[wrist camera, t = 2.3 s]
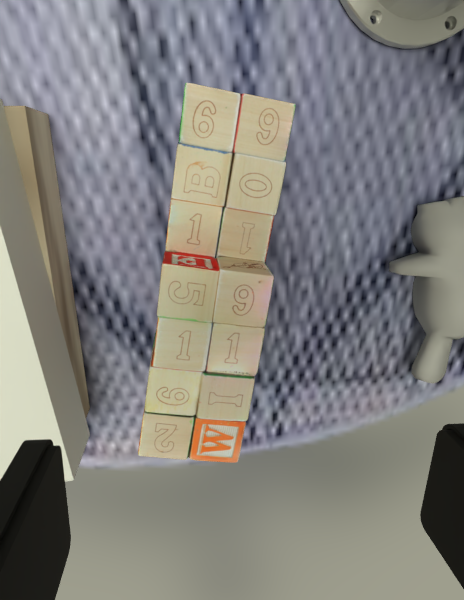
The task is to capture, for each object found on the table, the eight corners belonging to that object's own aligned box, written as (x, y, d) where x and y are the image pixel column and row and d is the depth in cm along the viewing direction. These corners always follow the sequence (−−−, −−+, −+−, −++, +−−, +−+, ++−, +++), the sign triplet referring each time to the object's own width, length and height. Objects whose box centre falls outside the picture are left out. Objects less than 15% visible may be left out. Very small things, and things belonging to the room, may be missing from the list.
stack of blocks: (185, 103, 31) (185, 65, 19) (268, 120, 31) (317, 93, 20) (151, 366, 37) (135, 459, 25) (222, 373, 38) (238, 467, 26)
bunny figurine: (525, 186, 31) (534, 373, 34) (479, 190, 36) (490, 353, 39) (402, 211, 31) (422, 398, 34) (373, 212, 36) (393, 375, 39)
